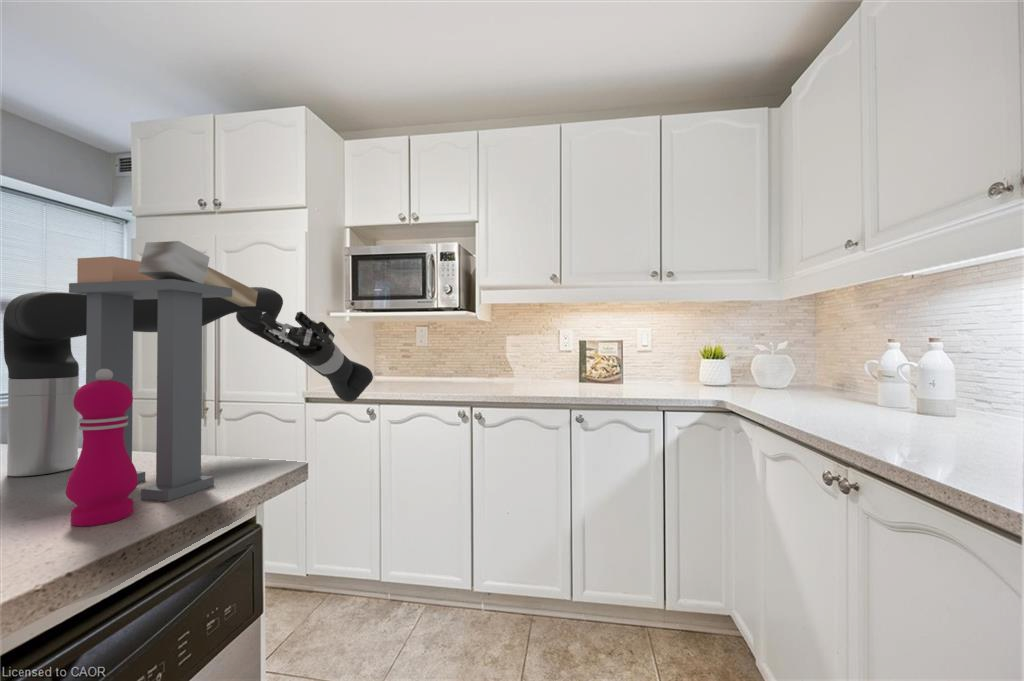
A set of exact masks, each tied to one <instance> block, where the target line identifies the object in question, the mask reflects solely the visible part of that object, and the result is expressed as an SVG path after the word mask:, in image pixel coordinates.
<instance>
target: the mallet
mask: <svg viewBox="0 0 1024 681" xmlns="http://www.w3.org/2000/svg"><path fill="white" fill-rule="evenodd" d="M140 261H141V264H140V268H139V273H141V274H143V275H146V276H148V277H151V278H153V279H156V280H163V279H175V280H182V281H188V282H195V283H201V284H208V285H214V286H221V287H227V288H232V297H221V298H223V299H226V300H228V301H230V302H232V303H235V304H237V305H239V306H256V300H257V295H258V291H256V290H254V289H252V288H250V287H251V286H250V287H249V286H248V285H246V284H244V283H241V282H240V281H238V280H236V279H233V278H231V277H229V276H228V275H225V274H224V273H221V272H219V271H217V270H215V269H213V268H211V267H209V262H210V256H209V255H206V254H204V253H203V252H201V251H198V250H197V249H195V248H193V247H191V246H189V245H188V244H186V243H184V242H182V241H180V240H172V241H169V240H168V241H153V242H152V241H151V242H149V241H147V242H145V244H144V249H143V252H142V256H141V260H140Z"/></svg>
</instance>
